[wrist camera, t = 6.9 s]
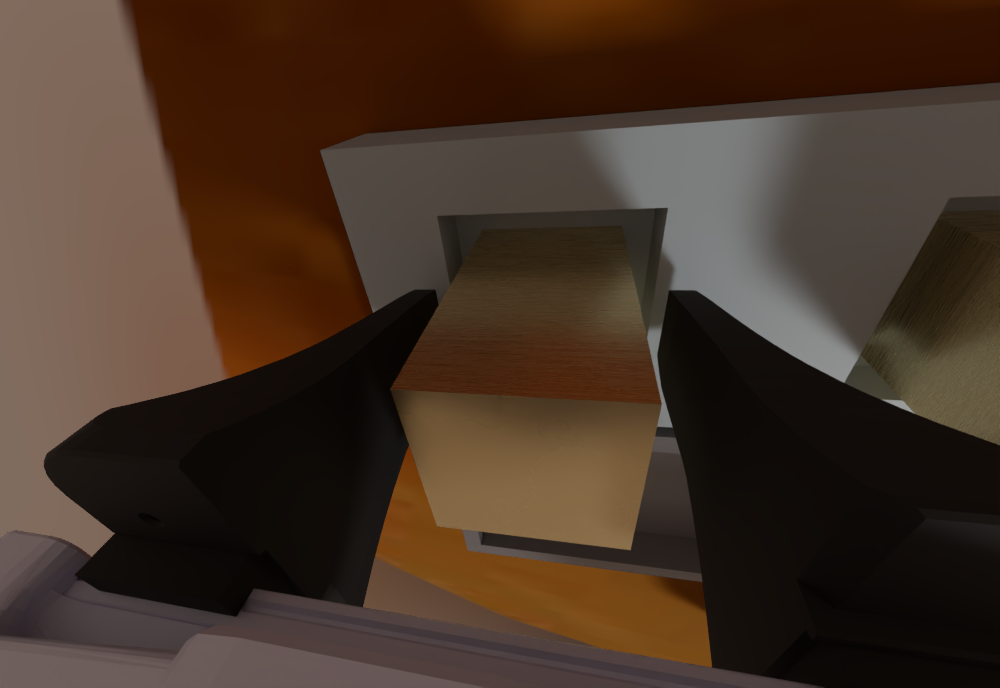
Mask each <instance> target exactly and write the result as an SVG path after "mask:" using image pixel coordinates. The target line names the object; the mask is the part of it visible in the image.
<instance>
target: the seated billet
mask: <svg viewBox="0 0 1000 688" xmlns="http://www.w3.org/2000/svg"><path fill="white" fill-rule="evenodd" d="M860 355H861V356H862V357H863V358H864V359H865V360H866V361H867V362H868V363H869V364H870V365H871V367H872V368H873V369H874V370H875V371H876V372H877V373H878V374H879V375H880V376H881V377H882V378H883V380H884V381H885V382H886V383H887V384H888V385H889V386H890V387H891V388H892V389H893V390H894V391H895V393H896V394H897V395H898V396H899V397H900V398H901V399H902V400H903V401H904V402H905V403H906V405H907V406H908V407H909V408H910V409H911V410H912V411H913V412H914V413H915V414H917V415H919V416H922V417H924V418H927V419H930V420H932V421H935V422H937V423H940V424H943V425H945V426H948V427H951V428H954V429H956V430H959V431H962V432H965V433H967V434H970V435H973V436H976V437H978V438H981V439H984V440H987V441H989V442H992V443H995V444H998V445H1000V210H978V211H945V212H941V214H940V216H939V218H938V219H937V221H936V223H935V225H934V226H933V228H932V230H931V232H930V233H929V235H928V237H927V239H926V240H925V242H924V244H923V246H922V247H921V249H920V251H919V253H918V254H917V256H916V258H915V260H914V261H913V263H912V265H911V267H910V268H909V270H908V272H907V274H906V275H905V277H904V279H903V281H902V282H901V284H900V286H899V288H898V289H897V291H896V293H895V295H894V296H893V298H892V300H891V302H890V303H889V305H888V307H887V309H886V310H885V312H884V314H883V316H882V317H881V319H880V321H879V323H878V324H877V326H876V328H875V330H874V331H873V333H872V335H871V337H870V338H869V340H868V342H867V344H866V345H865V347H864V349H863V351H862V352H861V354H860Z"/></svg>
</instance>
